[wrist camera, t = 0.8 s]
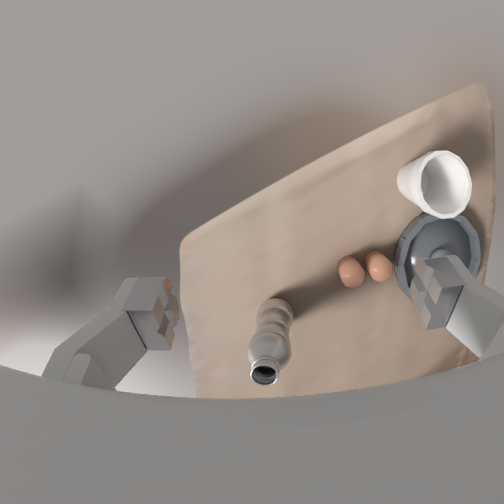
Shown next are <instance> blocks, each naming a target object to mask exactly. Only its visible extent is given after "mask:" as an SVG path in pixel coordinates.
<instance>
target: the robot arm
mask: <svg viewBox="0 0 504 504" xmlns="http://www.w3.org/2000/svg"><path fill="white" fill-rule="evenodd" d="M415 271H416V273H417V275H416V276H415V277H414V278H413V279H412V282H411V286H410V296H411V300H412V303H413V305H414V307H416V308H417V309H419V310H420V313H419V317H420V320H421V322H422V324H423V326H424V328H425V330H430V329H436V328H441V327H446V329H447V330H449V331H450V332H451V333H452V334H453V335H454V336H455V337H457V338H458V339H459V340H460V341H461V342H462V343H463V344H464V345H466V346H467V347H468V348H469V349H470V350H471V351H472V352H473V353H474V354H475V355H477V356H478V357H479V358H480V359H479V361H477V362H474V363H471V364H467V365H464V366H461V367H457V368H454V369H450V370H447V371H443V372H439V373H435V374H431V375H427V376H423V377H419V378H415V379H410V380H405V381H401V382H396V383H391V384H385V385H380V386H374V387H368V388H362V389H356V390H349V391H341V392H333V393H325V394H315V395H305V396H292V397H276V398H246V399H216V398H187V397H186V398H185V397H171V396H158V395H147V394H137V393H129V392H120V391H117V390H116V389H115V386H116V385H117V384H118V383H119V382H120V381H121V380H122V379H123V378H124V376H125V375H126V374H127V373H128V372H129V371H130V370H131V369H132V368H133V367H134V365H135V364H136V363H137V362H138V361H139V360H140V359H141V358H142V357H143V356H144V354H145V353H146V352H147V350H171V347H172V343H173V339H174V332H173V328H174V327H175V326H176V325H177V324H178V320H179V305H178V301H177V298H176V296H174V295H173V294H172V293H171V291H172V288H173V286H172V283H171V281H170V279H169V278H168V277H147V278H146V277H145V278H127V279H125V280H124V281H123V283H122V285H121V287H120V289H119V291H118V293H117V295H116V297H115V299H114V301H113V303H112V304H111V306H110V308H109V311H104V312H103V313H101V314H100V315H99V316H97V317H96V318H94V319H93V320H92V321H90V322H89V323H88V324H87V325H85V326H84V327H83V328H81V329H80V330H79V331H77V332H76V333H75V334H73V335H72V336H71V337H69V338H68V339H67V340H66V341H64V342H63V343H62V344H61V345H59V346H58V347H57V348H55V350H54V352H53V354H52V356H51V358H50V360H49V362H48V364H47V366H46V368H45V370H44V372H43V374H42V376H36V375H33V374H29V373H25V372H22V371H18V370H15V369H11V368H8V367H5V366H1V365H0V504H504V296H503V295H501V294H499V293H498V292H496V291H495V290H493V289H491V288H489V287H488V286H486V285H484V284H483V283H478V282H477V281H476V280H475V278H474V277H473V275H472V274H471V273H470V271H469V270H468V269H467V268H466V266H465V265H464V264H463V262H462V261H461V260H460V258H459V257H458V256H456V255H448V256H443V257H435V258H425V259H419V260H418V261H417V263H416V267H415Z"/></svg>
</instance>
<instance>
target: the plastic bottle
mask: <svg viewBox="0 0 504 504" xmlns="http://www.w3.org/2000/svg"><path fill="white" fill-rule="evenodd" d="M293 317H294V316H293V311H292V308H291V306H290V305H289V303H288V302H286V301H285V300H283V299H279V298H273V299H269V300H267V301H265V302H264V303H263V304H262V305H261V307H260V308H259V310H258V312H257V329H256V332H255V334H254V336H253V338H252V339H251V341H250V343H249V345H248V348H247V358H248V361H249V363H250V365H251V379H252V380H253V381H254V382H255V383H256V384H258V385H262V386H268V385H271V384H273V383H275V382H276V381H277V379H278V376H279V372H280V370H281V369H283V368H284V367H285V366H286V365H287V363H288V362H289V360H290V358H291V345H290V341H289V330H290V327H291V324H292V322H293Z"/></svg>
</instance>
